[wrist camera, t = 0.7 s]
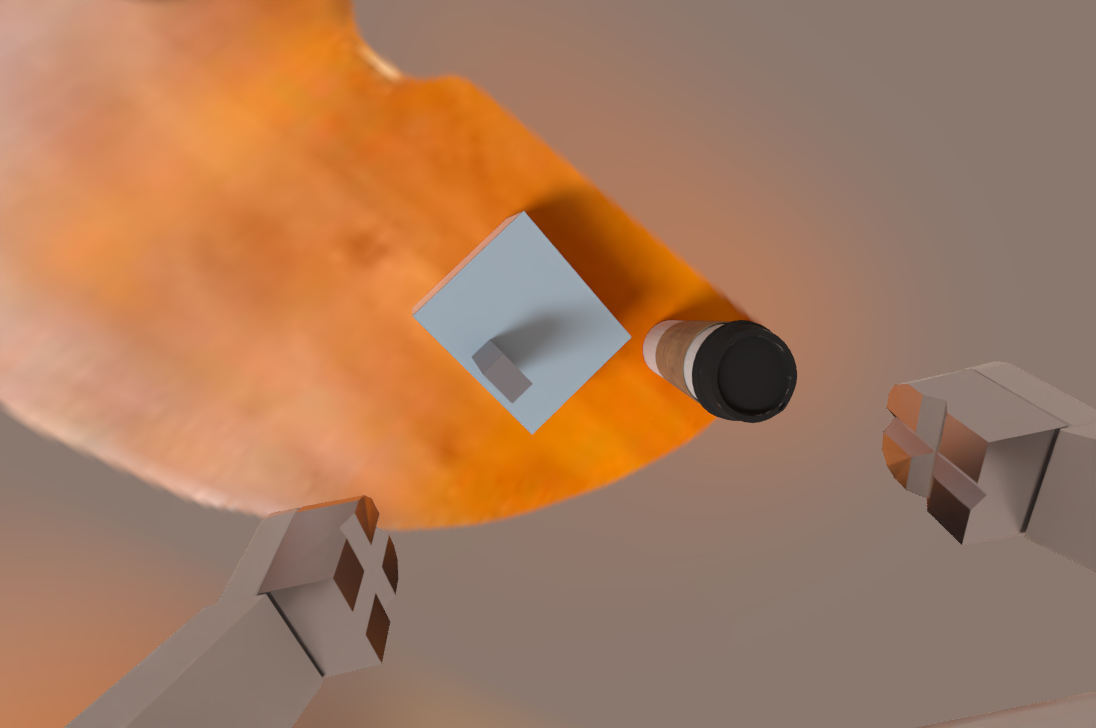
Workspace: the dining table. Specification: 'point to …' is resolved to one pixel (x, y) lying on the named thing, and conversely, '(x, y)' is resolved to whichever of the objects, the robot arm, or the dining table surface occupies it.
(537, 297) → the lid
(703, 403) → the coffee cup
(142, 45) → the dining table surface
